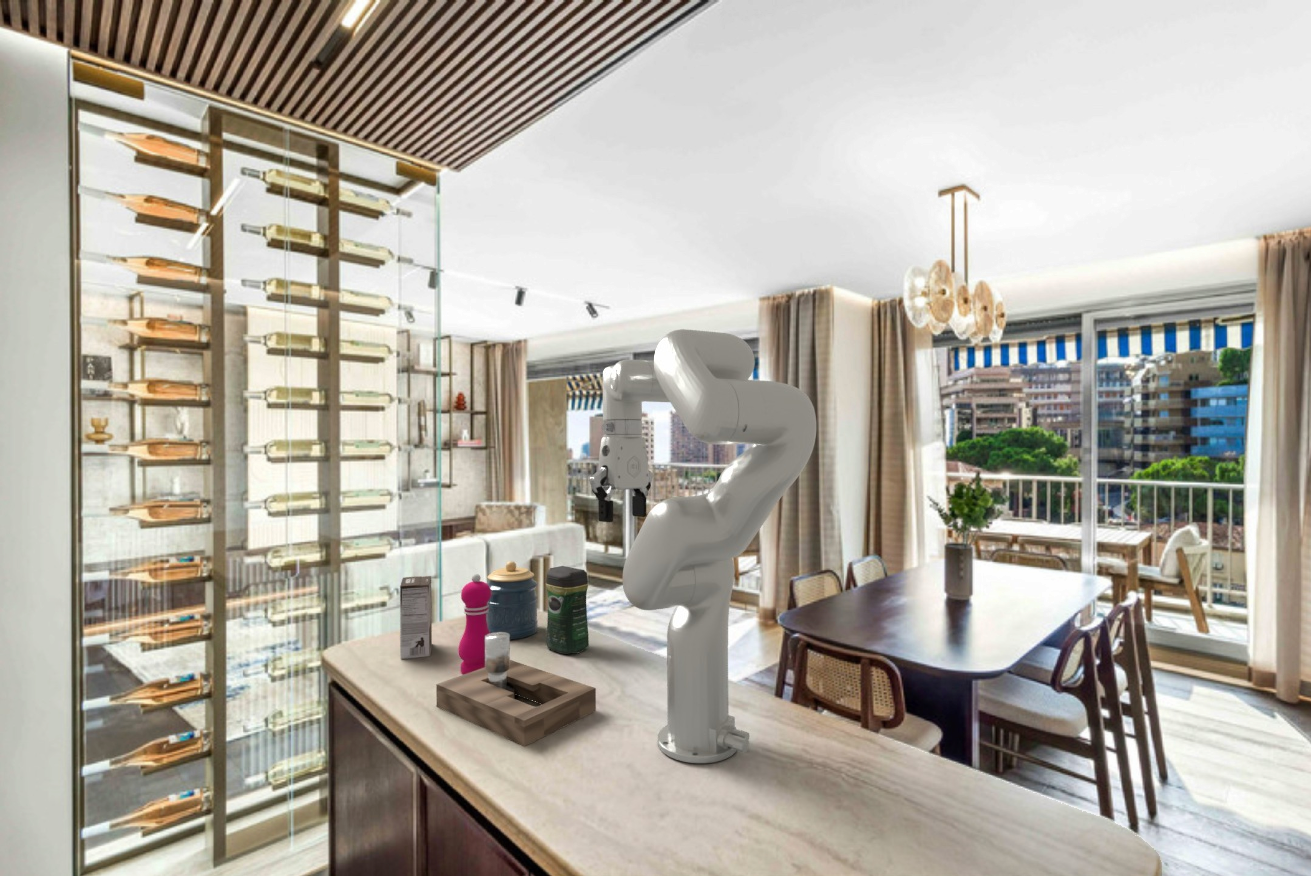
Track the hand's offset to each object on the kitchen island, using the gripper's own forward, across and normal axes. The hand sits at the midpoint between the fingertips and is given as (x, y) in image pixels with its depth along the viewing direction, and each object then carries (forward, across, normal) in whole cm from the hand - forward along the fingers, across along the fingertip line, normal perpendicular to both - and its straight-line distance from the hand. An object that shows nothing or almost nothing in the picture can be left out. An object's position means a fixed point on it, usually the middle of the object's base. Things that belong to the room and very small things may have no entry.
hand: (623, 518), depth 120 cm
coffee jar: (+32, +9, +25) cm, 42 cm away
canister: (+32, +9, +45) cm, 56 cm away
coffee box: (+32, -13, +51) cm, 62 cm away
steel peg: (+32, -19, +14) cm, 40 cm away
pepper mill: (+32, -12, +30) cm, 46 cm away
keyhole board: (+32, -19, +9) cm, 39 cm away
